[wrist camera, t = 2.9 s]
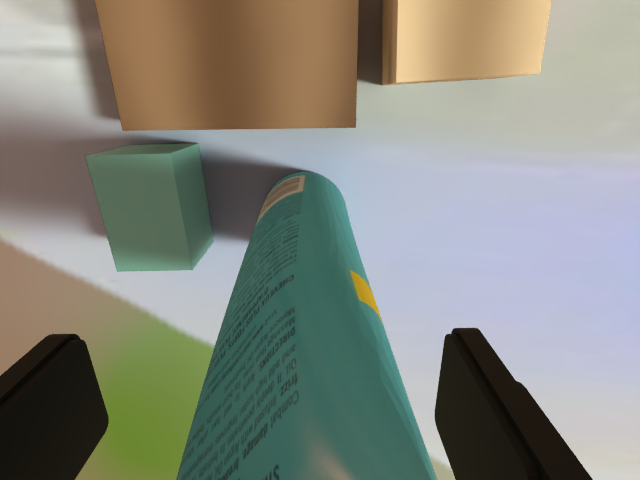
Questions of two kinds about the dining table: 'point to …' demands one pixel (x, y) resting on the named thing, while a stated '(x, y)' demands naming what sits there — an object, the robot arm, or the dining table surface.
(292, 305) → the tube
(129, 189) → the teal block
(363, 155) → the dining table surface
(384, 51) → the beech block
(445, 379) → the robot arm
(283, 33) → the plinth
